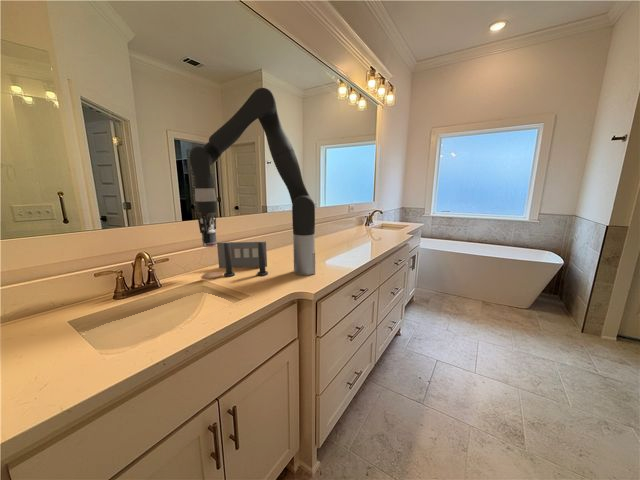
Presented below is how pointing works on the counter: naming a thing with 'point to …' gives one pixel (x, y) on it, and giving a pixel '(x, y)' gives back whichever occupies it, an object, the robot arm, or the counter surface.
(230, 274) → the post
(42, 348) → the counter surface
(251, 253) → the panel
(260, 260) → the post
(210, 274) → the coaster
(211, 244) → the pill bottle
